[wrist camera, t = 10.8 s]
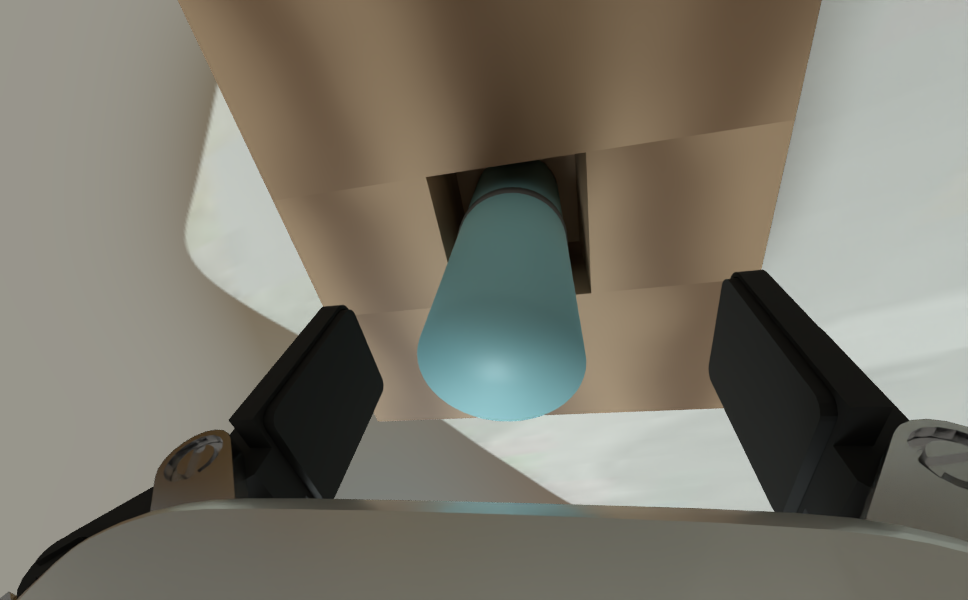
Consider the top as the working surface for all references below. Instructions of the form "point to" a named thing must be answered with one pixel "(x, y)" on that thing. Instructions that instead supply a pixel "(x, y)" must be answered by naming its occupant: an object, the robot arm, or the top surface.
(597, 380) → the socket block
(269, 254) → the top surface
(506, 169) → the peg
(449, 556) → the robot arm
